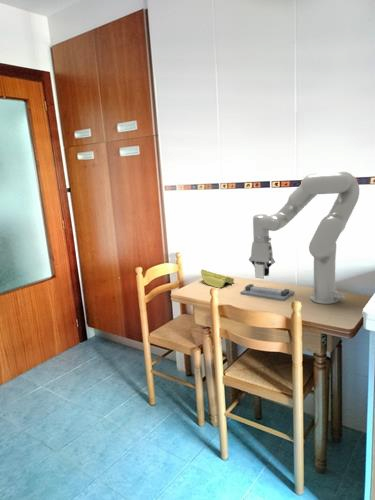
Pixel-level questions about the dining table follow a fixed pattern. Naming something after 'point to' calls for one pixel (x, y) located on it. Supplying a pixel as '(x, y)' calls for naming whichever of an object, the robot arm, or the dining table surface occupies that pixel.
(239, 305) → the dining table surface
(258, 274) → the block
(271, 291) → the din rail
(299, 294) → the dining table surface
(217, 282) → the yellow-green curved piece
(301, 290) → the dining table surface
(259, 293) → the mounting plate
